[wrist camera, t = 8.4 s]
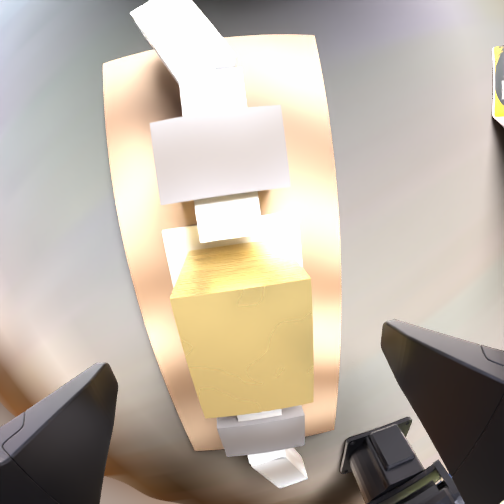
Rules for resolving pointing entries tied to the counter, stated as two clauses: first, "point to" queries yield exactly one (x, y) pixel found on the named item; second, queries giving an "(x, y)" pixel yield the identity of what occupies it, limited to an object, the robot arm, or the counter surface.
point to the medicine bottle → (498, 84)
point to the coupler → (246, 327)
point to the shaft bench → (308, 192)
